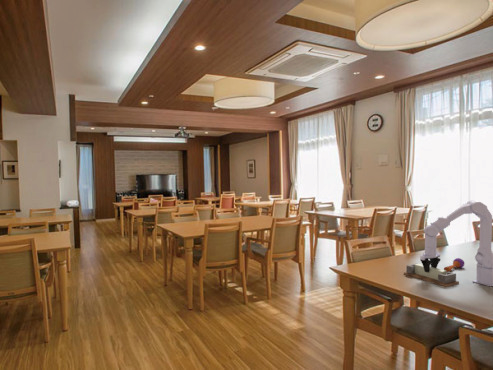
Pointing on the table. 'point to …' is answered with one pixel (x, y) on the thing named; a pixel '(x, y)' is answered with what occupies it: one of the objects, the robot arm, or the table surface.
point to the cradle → (442, 279)
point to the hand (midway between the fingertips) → (430, 271)
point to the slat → (432, 271)
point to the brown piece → (455, 264)
